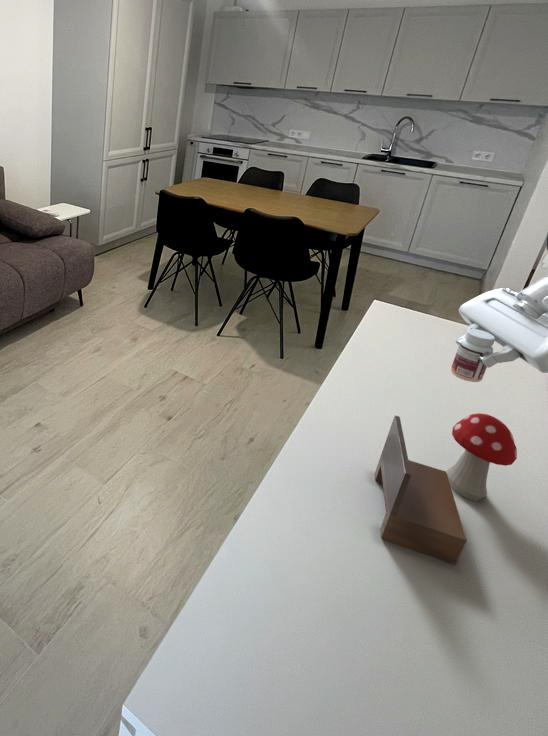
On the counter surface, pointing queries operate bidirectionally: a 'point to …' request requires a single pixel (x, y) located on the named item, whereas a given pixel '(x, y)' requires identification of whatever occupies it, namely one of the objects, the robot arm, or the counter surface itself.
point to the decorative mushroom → (479, 453)
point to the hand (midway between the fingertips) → (470, 354)
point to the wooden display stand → (417, 503)
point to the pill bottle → (472, 355)
